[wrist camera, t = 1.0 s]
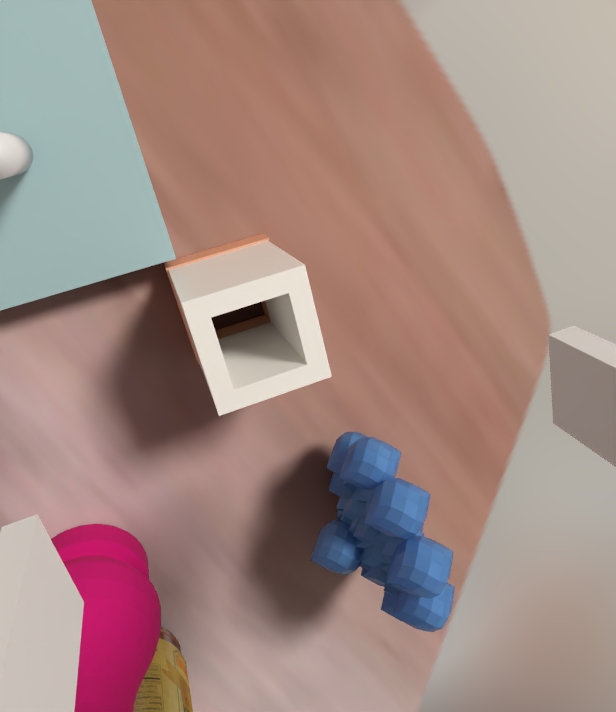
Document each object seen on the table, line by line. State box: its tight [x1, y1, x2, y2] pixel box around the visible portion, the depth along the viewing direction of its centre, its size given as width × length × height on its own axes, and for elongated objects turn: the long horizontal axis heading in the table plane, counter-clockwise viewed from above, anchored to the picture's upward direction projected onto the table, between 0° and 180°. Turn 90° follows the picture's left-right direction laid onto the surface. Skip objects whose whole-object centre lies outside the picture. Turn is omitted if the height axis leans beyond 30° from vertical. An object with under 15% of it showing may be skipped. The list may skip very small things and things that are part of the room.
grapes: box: [311, 432, 454, 632], centre depth 31 cm, size 12×7×12 cm, turn 16°
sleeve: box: [164, 234, 332, 416], centre depth 27 cm, size 5×5×8 cm
